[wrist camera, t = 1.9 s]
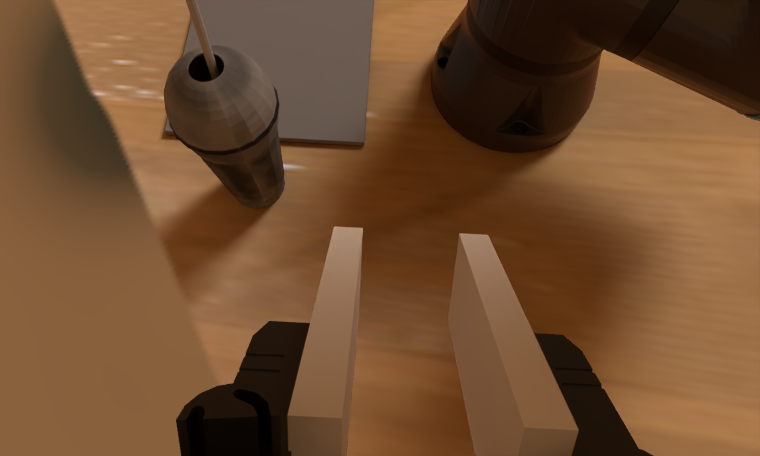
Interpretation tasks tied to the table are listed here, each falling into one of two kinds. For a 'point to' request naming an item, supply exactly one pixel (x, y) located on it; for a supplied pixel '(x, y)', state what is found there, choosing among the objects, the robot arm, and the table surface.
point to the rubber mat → (301, 60)
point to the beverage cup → (227, 117)
